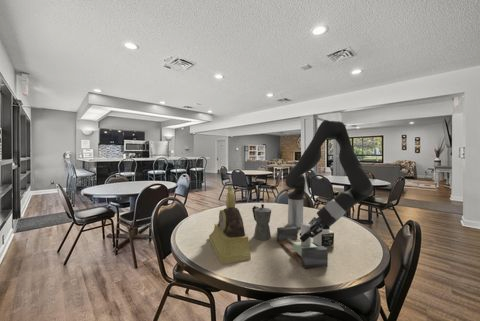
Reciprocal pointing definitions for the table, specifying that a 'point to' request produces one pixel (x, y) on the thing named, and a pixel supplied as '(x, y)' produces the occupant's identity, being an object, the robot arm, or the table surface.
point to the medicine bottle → (324, 237)
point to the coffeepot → (262, 222)
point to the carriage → (306, 244)
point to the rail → (309, 256)
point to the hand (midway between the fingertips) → (301, 238)
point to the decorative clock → (230, 234)
